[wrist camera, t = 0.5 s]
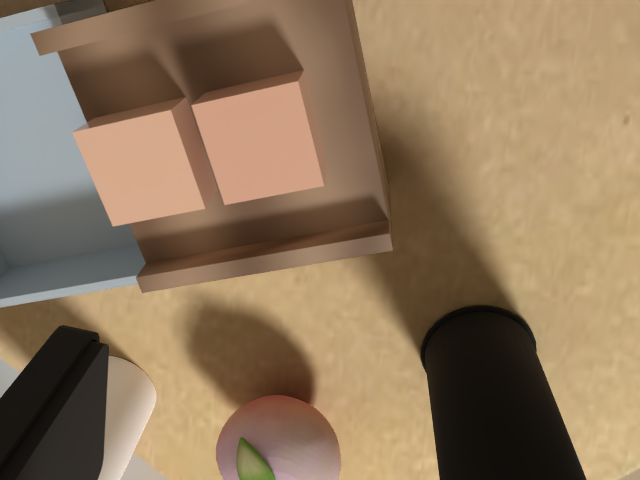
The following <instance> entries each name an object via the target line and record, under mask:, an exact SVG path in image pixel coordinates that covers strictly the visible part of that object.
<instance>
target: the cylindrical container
mask: <svg viewBox="0 0 640 480" xmlns="http://www.w3.org/2000/svg"><path fill="white" fill-rule="evenodd" d="M155 404H156V390H155V387H154V385H153V383H152V381H151V380H150V378H149V377H148V376H147V374H146V373H145V372H144V371H143V370H142V369H140V368H139V367H137V366H136V365H135V364H133V363H131V362H129V361H127V360H124V359H122V358H119V357H114V356H109V361H108V381H107V401H106V420H105V440H104V459H103V465H102V469H101V472H100V475H99V478H98V480H120V479H121V477H122V475H123V473H124V471H125V469H126V466H127V464H128V462H129V460H130V458H131V456H132V454H133V452H134V450H135V447H136V445H137V443H138V441H139V439H140V437H141V435H142V432H143V430H144V428H145V426H146V424H147V422H148V420H149V417H150V415H151V413H152V411H153V409H154V406H155Z"/></svg>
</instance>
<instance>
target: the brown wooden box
mask: <svg viewBox="0 0 640 480" xmlns="http://www.w3.org/2000/svg"><path fill="white" fill-rule="evenodd" d="M30 35H31V37H32V39H33V42H34V44H35V46H36V49H37V51H38V53H39V56H41V55H45V54H49V53H53V52H57V53H58V55H59V57H60V60H61V62H62V65H63V67H64V69H65V72H66V74H67V76H68V79H69V81H70V84H71V86H72V88H73V91H74V93H75V96H76V98H77V100H78V103H79V105H80V107H81V110H82V112H83V115H84V117H85V119H86V122H89V121H90V120H92V119H94V118H96V117H101V116H105V115H109V114H114V113H118V112H122V111H127V110H131V109H135V108H140V107H144V106H148V105H153V104H157V103H162V102H166V101H170V100H175V99H179V98H183V97H187V100H188V103H189V106H190V109H191V112H192V115H193V118H194V121H195V124H196V127H197V130H198V133H199V136H200V139H201V142H202V145H203V148H204V151H205V154H206V157H207V160H208V163H209V166H210V169H211V172H212V175H213V178H214V181H215V184H216V187H217V191H216V193H215V194H214V196H213V197H212V199H211V201H210V202H209V204H208V205H207V207H206V209H202V210H197V211H191V212H186V213H181V214H176V215H171V216H165V217H160V218H155V219H150V220H144V221H139V222H134V223H129V224H130V227H131V229H132V232H133V234H134V236H135V239H136V241H137V244H138V246H139V248H140V251H141V253H142V255H143V258H144V260H145V263H146V264H145V265H144V266H143V268H142V269H141V271H140V272H139V274H138V275H137V276H136V280H137V282H138V284H139V287H140V289H141V291H142V293H145V292H150V291H156V290H162V289H168V288H174V287H180V286H186V285H192V284H198V283H204V282H210V281H216V280H222V279H228V278H234V277H240V276H246V275H251V274H257V273H263V272H269V271H275V270H281V269H287V268H293V267H299V266H305V265H311V264H317V263H323V262H329V261H335V260H341V259H347V258H352V257H358V256H364V255H370V254H376V253H382V252H388V251H393V242H392V226H391V211H390V195H389V185H388V180H387V175H386V170H385V165H384V160H383V155H382V150H381V144H380V139H379V134H378V129H377V124H376V119H375V114H374V109H373V104H372V99H371V94H370V89H369V84H368V79H367V74H366V69H365V63H364V58H363V53H362V48H361V43H360V38H359V33H358V28H357V23H356V18H355V13H354V8H353V3H352V0H153V1H149V2H145V3H141V4H137V5H134V6H130V7H126V8H122V9H119V10H115V11H111V12H107V13H103V14H100V15H96V16H92V17H89V18H85V19H81V20H78V21H74V22H70V23H67V24H63V25H60V26H56V27H52V28H49V29H45V30H41V31H38V32H34V33H30ZM301 70H304V71H305V75H306V80H307V84H308V88H309V92H310V96H311V100H312V104H313V108H314V113H315V117H316V121H317V125H318V129H319V133H320V137H321V141H322V145H323V150H324V154H325V158H326V162H327V166H328V170H327V175H326V180H325V185H324V186H322V187H316V188H311V189H306V190H301V191H296V192H290V193H285V194H280V195H275V196H270V197H264V198H259V199H254V200H249V201H243V202H238V203H233V204H228V205H224V202H223V199H222V196H221V193H220V190H219V187H218V184H217V181H216V178H215V175H214V172H213V169H212V166H211V163H210V160H209V157H208V154H207V151H206V148H205V145H204V142H203V139H202V136H201V133H200V130H199V127H198V124H197V121H196V118H195V115H194V112H193V109H192V106H191V105H192V104H193V103H194V102H195V101H197V100H198V99H199V98H200V97H201V96H202V95H203V94H204V93H205V92H209V91H214V90H218V89H223V88H227V87H231V86H236V85H240V84H244V83H249V82H253V81H257V80H262V79H266V78H271V77H275V76H279V75H284V74H288V73H292V72H297V71H301Z"/></svg>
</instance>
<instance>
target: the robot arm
mask: <svg viewBox="0 0 640 480" xmlns="http://www.w3.org/2000/svg"><path fill="white" fill-rule="evenodd" d="M108 361H109V347H108V345H107V344H103V343H100V342H99V335H98V333H96V332H92V331H87V330H82V329H78V328H73V327H69V326H64V325H62V326H59V327H58V328H57V329H56V330H55V331H54V333H53V334H52V335H51V336H50V338H49V339H48V340H47V341H46V342H45V344H44V345H43V346H42V347H41V349H40V350H39V351H38V352H37V354H36V355H35V356H34V357H33V359H32V360H31V361H30V362H29V364H28V365H27V366H26V367H25V368H24V370H23V371H22V372H21V373H20V375H19V376H18V377H17V379H16V380H15V381H14V382H13V383H12V385H11V386H10V387H9V388H8V390H7V391H6V392H5V393H4V394H3V396H2V397H1V398H0V480H98V478H99V475H100V472H101V469H102V465H103V459H104V440H105V420H106V401H107V381H108Z"/></svg>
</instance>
